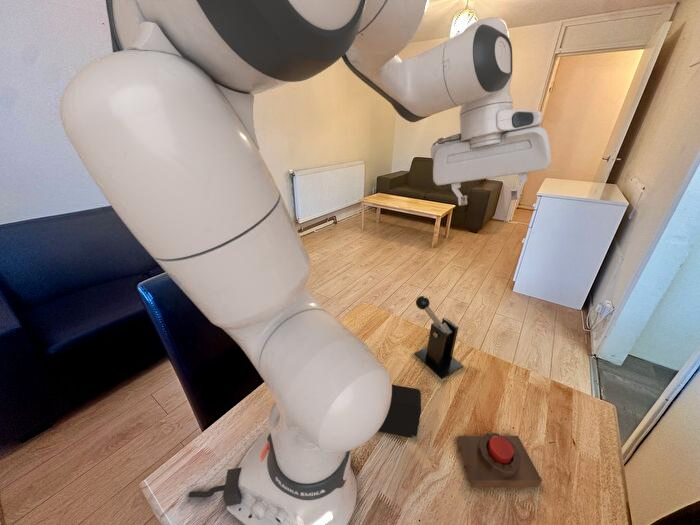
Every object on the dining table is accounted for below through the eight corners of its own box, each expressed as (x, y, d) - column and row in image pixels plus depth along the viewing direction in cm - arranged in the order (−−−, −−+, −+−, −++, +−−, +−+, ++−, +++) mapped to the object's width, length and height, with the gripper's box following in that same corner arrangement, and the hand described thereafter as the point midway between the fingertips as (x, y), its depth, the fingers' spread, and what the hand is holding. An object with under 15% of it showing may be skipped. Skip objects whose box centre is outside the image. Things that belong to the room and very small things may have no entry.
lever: (411, 303, 78) (416, 295, 75) (421, 299, 80) (426, 291, 77) (439, 341, 72) (445, 334, 69) (449, 336, 73) (455, 329, 71)
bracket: (413, 356, 79) (419, 319, 73) (434, 345, 82) (441, 310, 77) (441, 382, 71) (449, 343, 65) (462, 369, 75) (472, 331, 69)
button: (493, 464, 51) (495, 458, 50) (483, 441, 54) (485, 435, 54) (515, 463, 51) (518, 458, 50) (504, 441, 55) (506, 435, 54)
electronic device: (416, 439, 58) (421, 407, 54) (368, 429, 60) (369, 398, 56) (416, 420, 62) (421, 389, 58) (370, 412, 64) (372, 380, 59)
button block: (471, 487, 51) (476, 475, 49) (456, 442, 58) (459, 430, 56) (538, 487, 51) (545, 474, 49) (514, 442, 58) (520, 429, 56)
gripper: (425, 139, 56) (431, 209, 59) (553, 109, 45) (551, 197, 48) (434, 141, 61) (438, 206, 64) (550, 115, 50) (548, 194, 54)
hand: (488, 202), depth 56 cm, fingers open, 8 cm apart
